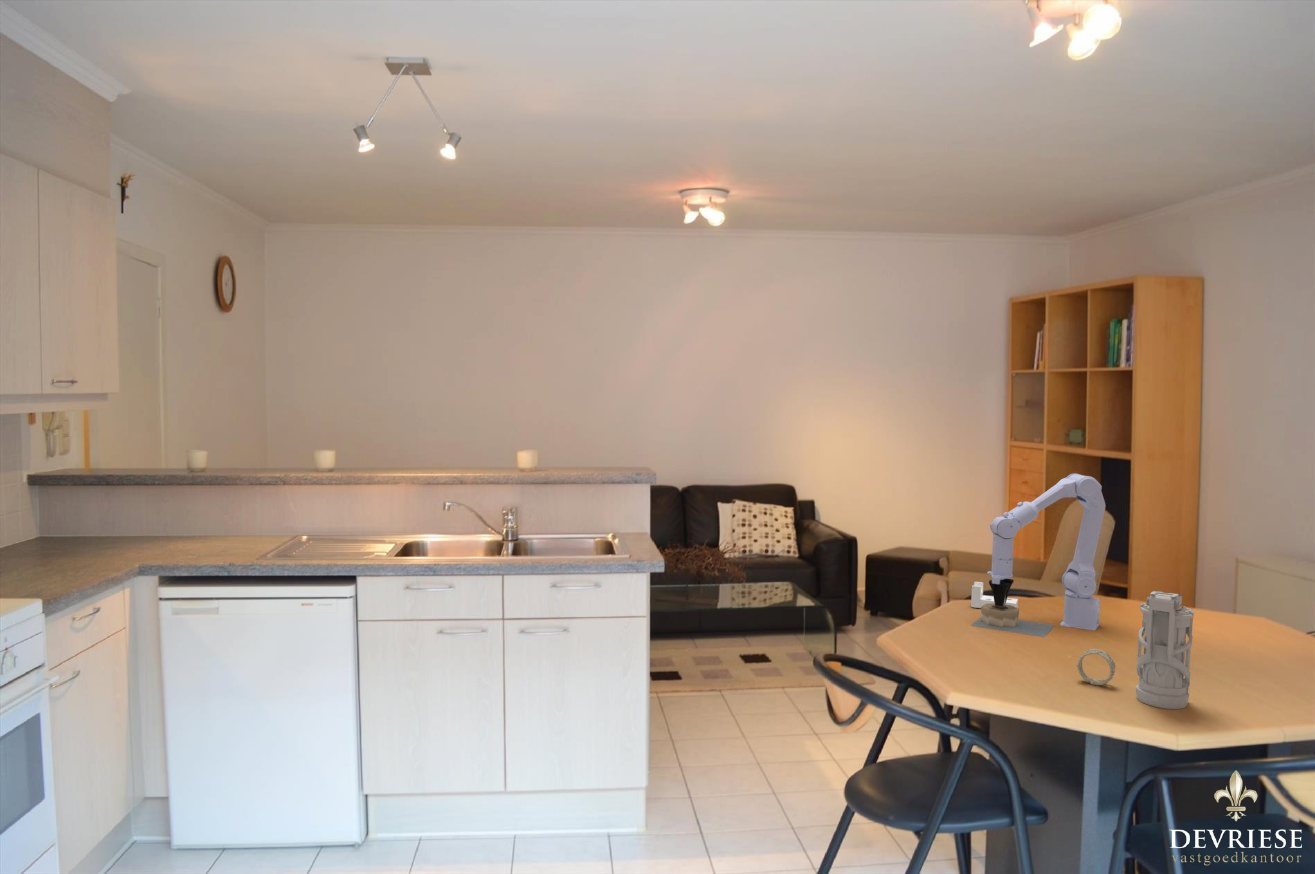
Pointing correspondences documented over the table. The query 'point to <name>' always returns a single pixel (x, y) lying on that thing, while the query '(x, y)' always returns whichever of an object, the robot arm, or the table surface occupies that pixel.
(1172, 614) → the lantern
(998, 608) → the peg
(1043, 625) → the mat
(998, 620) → the ring
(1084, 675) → the bracelet
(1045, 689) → the table surface
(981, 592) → the bracket
